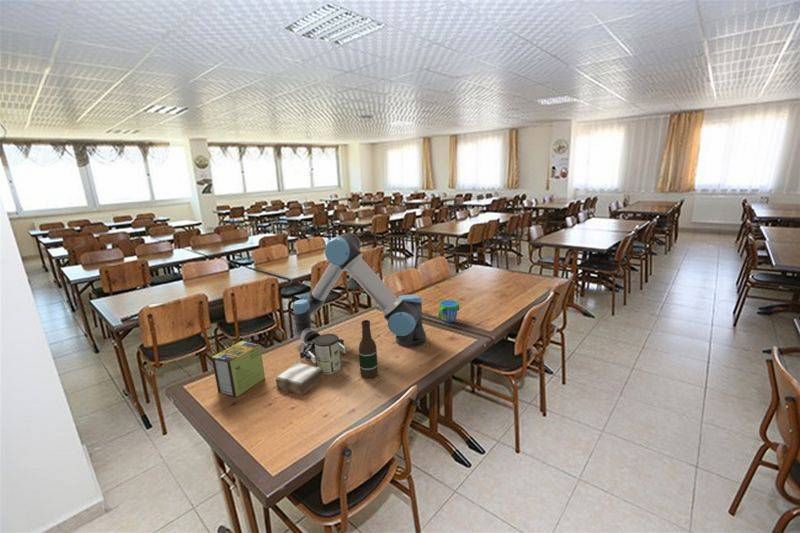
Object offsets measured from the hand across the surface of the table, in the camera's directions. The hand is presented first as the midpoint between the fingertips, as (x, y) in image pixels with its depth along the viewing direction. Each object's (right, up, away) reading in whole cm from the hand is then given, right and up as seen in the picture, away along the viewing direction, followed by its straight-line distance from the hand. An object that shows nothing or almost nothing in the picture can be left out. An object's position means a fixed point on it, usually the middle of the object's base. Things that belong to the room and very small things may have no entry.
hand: (330, 355), depth 158 cm
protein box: (-35, -11, -6) cm, 37 cm away
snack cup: (+57, +8, +49) cm, 76 cm away
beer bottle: (+17, -8, -2) cm, 19 cm away
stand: (-11, -10, -6) cm, 16 cm away
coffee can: (-1, -7, +4) cm, 8 cm away
